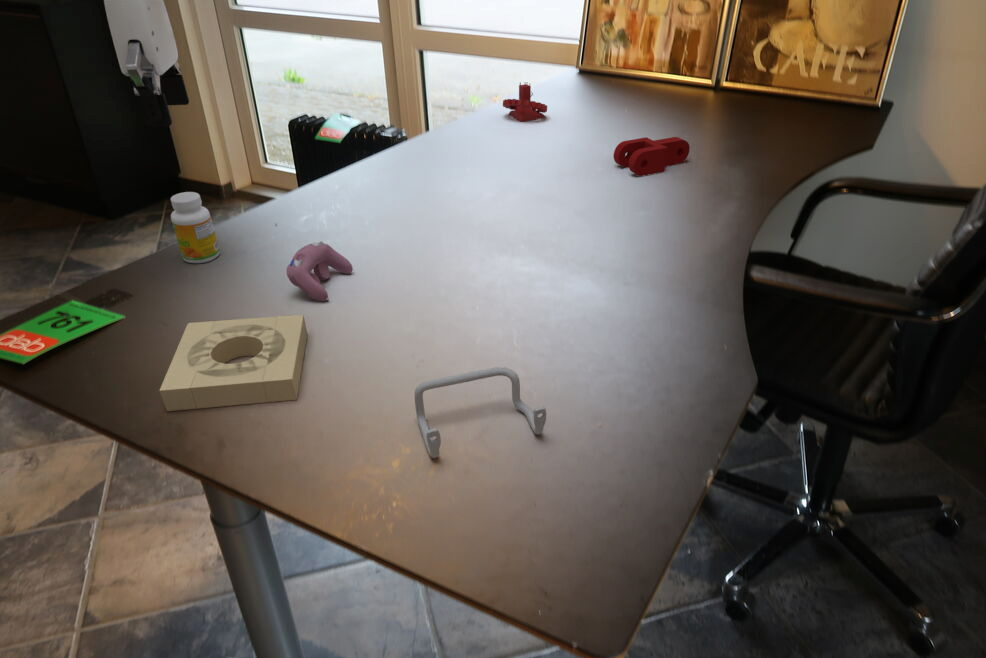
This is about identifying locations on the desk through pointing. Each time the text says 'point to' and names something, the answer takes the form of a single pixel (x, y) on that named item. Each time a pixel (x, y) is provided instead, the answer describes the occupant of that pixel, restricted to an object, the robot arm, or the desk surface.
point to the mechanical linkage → (650, 154)
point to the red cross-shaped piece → (525, 106)
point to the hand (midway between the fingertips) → (168, 114)
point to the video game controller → (315, 268)
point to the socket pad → (258, 380)
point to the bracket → (427, 434)
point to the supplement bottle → (193, 228)
